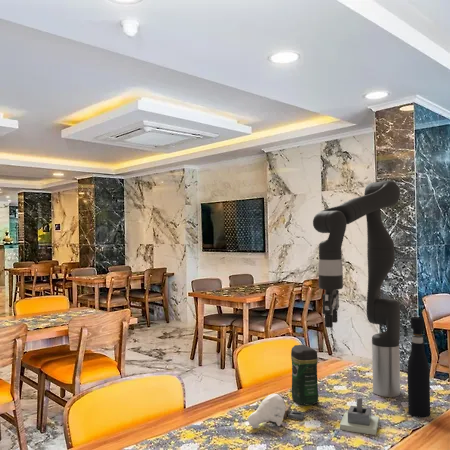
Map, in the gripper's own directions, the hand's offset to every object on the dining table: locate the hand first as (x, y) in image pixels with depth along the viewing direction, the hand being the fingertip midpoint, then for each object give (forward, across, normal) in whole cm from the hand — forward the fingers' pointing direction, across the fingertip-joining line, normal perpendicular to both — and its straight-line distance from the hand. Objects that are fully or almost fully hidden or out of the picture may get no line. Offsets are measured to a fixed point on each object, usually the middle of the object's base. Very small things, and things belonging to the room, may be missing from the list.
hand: (331, 324), depth 147 cm
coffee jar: (+28, +8, +11) cm, 31 cm away
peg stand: (+28, -6, -9) cm, 30 cm away
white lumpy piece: (+28, -16, +17) cm, 37 cm away
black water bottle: (+28, +10, -25) cm, 39 cm away
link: (+27, -6, -9) cm, 29 cm away
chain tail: (+28, -7, +12) cm, 31 cm away
